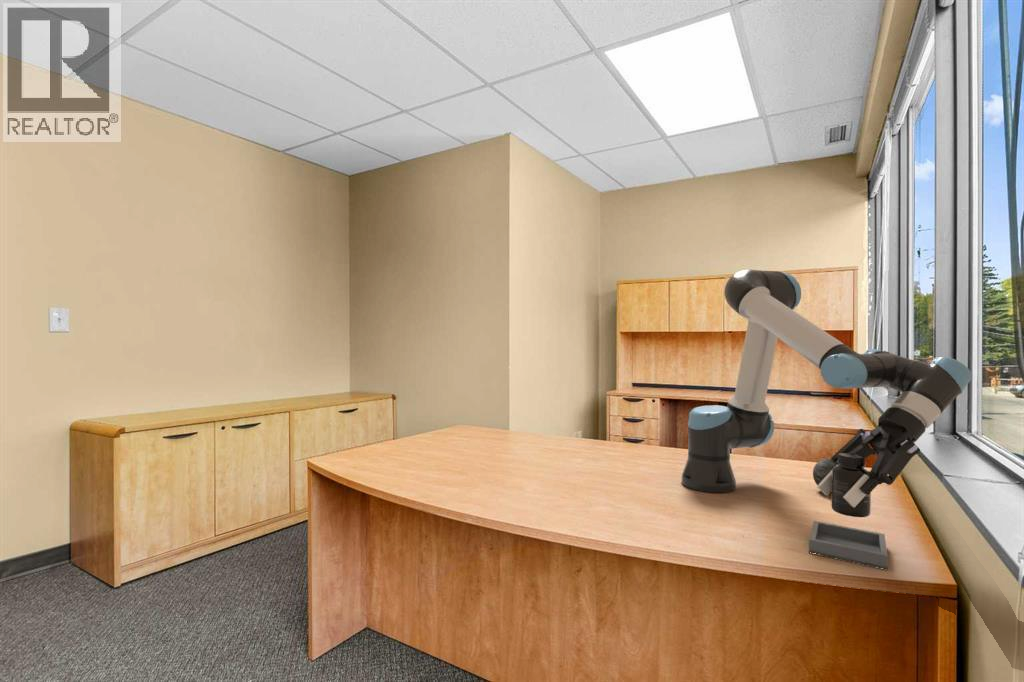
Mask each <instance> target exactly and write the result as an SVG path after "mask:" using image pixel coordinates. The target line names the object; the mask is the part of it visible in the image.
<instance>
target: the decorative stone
mask: <svg viewBox="0 0 1024 682" xmlns="http://www.w3.org/2000/svg"><path fill="white" fill-rule="evenodd" d="M834 466H835V463H834V462H833V461H832V460H831V457H827V458H823V459H820V460H819V461H817V463H815V465H814V467H813V469H812V476H813V480H814V482H815V484H816V486H817V485H818V484H819V483H820V482H821V481H822V480H823V479H824V478H825V477H826V475H827V473H828V472H829V471H830V470H831V469H832V468H833V467H834ZM830 494H832V491H831V493H830Z"/></svg>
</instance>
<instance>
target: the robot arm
mask: <svg viewBox="0 0 1024 682" xmlns="http://www.w3.org/2000/svg"><path fill="white" fill-rule="evenodd" d="M724 299H725V301H726V303H727V304H728V306H729V307H730V308H731V309H732V310H733V311H735V312H736V313H737V314H738V315H740V316H741V317H742V318H745V319H747V326H746V329H745V330H746V332H745V337H744V342H743V348H742V352H741V357H740V358H741V359H740V364H739V369H738V375H737V380H736V384H735V391H734V396H732V397H731V398H730V399H729V398H728V400H727V405H726V406H725V405H716V404H715V405H713V404H712V405H701V406H697V407H694V408H692V409H691V410H690V411H689V414H688V421H687V426H688V436H687V437H688V441H687V442H688V443H687V444H688V446H687V447H688V449H687V450H688V451H687V454H688V456H687V460H686V463H685V466H684V468H683V470H682V473H681V484H682V485H684V486H685V487H686V488H689V489H692V490H696V491H700V492H704V493H705V492H706V493H715V494H716V493H718V494H719V493H720V494H723V493H731V492H734V491H736V489H737V482H736V481H737V480H736V476H735V475H734V474H735V473H734V471H733V468H732V464H731V460H730V459H731V458H730V457H731V455H730V454H731V449H732V450H733V449H743V448H744V449H745V448H755V447H758V446H762V445H765V444H767V443H768V442H769V441H770V440H771V438H772V436H773V434H774V431H775V422H774V420H772V419H773V416H772V414H771V413H769V412H770V407H769V406H768V404H766V397H767V393H768V389H769V384H770V378H771V373H772V368H773V363H774V357H775V352H776V348H777V342H778V339H779V340H780V341H781V342H782V343H784V344H786V346H788V347H790V348H791V349H792V350H793V351H795V352H796V353H798V354H799V355H801V357H803V358H805V359H806V360H807V361H808V362H810V363H811V364H812V365H814V366H815V367H816V368H818V369H819V370H820V375H821V377H822V378H823V382H824V383H826V384H827V385H828V386H830V387H832V388H835V389H844V390H853V389H862V388H865V389H866V388H888V389H893V390H896V391H898V392H901V393H900V395H899V396H897V397H896V398H895V400H894V401H893V402H892V403H891V404H890V407H888V408H887V409H886V410H884V412H883V413H882V414H881V415H880V416H879V417H878V421H877V422H878V424H877V426H876V427H875V428H873V429H871V430H870V431H865V430H864V429H863V428H859V429H858V430H857V431H856V432H855V433H856V434H855V435H854V436H853V437H852V438H851V439H849V441H848V442H846V443H845V444H844V445H843V446H842V447H841V448H840V449H839V450H838V451H837V452H835V453H834V454H833V456H831V457H830V458H831V460H832V461H833V462H834V463H835V466H838V465H839V463H837V460H838V454H839V453H850V454H857V455H861V456H864V457H865V459H867V458H868V457H870V456H875V455H877V456H876V458H875V460H874V462H873V465H872V467H871V469H870V471H868V470H867V473H868V475H869V476H870V477H869V476H868V475H866V474H864V475H863V476H862V477H861V478H860V479H859V480H858V481H857V482H856V484H855V485H854V486H853V487H852V488H851V489H850V490H849V491H848V492H847V493H846V494H845V495H844V497H843V498H844V499H845V500H846V501H847V502H848V503H849V504H850V505H851V506H852V507H854V508H855V506H856V505H857V504H858V503H859V502H860V501H861V500H862V499H863V498H864V497H865V496H866V495H868V494H870V493H871V494H872V492H873V491H874V489H876V487H877V486H878V485H882V484H886V485H888V486H891V485H892V484H893V483H894V482H895V480H897V478H898V477H899V476H900V474H901V473H902V472H903V470H904V469H905V467H906V466H907V464H909V462H910V461H911V460H912V458H913V457H914V456H916V455H918V454H919V453H920V452H921V449H920V447H919V446H918V445H917V443H916V442H917V441H918V440H919V439H920V438H921V437H922V435H923V434H925V432H926V429H928V428H929V427H930V426H931V425H932V424H933V423H934V422H935V421H936V419H938V417H939V416H940V415H942V413H943V412H944V410H945V409H947V408H948V407H949V406H950V404H951V403H953V401H955V399H956V398H957V397H958V396H959V395H961V394H963V391H964V389H965V388H966V387H967V386H968V384H969V383H970V382H971V381H972V378H973V376H972V373H971V370H970V369H969V367H967V366H966V365H965V364H964V363H962V362H961V361H959V360H957V359H954V358H953V357H948V356H937V357H935V358H933V359H932V360H930V361H929V362H928V363H926V362H922V361H917V360H914V359H910V358H907V357H903V356H901V355H898V354H894V353H891V352H889V351H886V350H879V349H876V348H870V349H867V350H866V351H865V352H864V351H863V352H862V353H858V352H857V351H855V350H853V348H851V347H849V346H847V345H845V344H844V343H843V342H841V341H840V339H839V340H838V338H835V337H834V336H832V335H831V334H829V333H828V332H826V331H825V330H823V329H822V328H820V327H819V326H817V325H816V324H814V323H813V322H811V321H810V320H808V319H807V318H805V317H804V316H803V315H801V314H799V313H798V312H796V311H795V310H794V309H795V308H796V307H798V306H799V304H800V302H801V299H802V287H801V285H800V283H799V282H798V281H797V279H796V277H794V275H792V274H790V273H787V272H782V271H778V270H762V269H761V270H759V269H758V270H757V269H743V270H740V271H737V272H735V273H734V274H732V275H731V276H730V277H729V278H728V280H727V281H726V284H725V285H724ZM835 466H834V467H835ZM834 467H833V468H834ZM833 468H832V469H833ZM832 469H831V470H830V471H829V472H828V473H827V475H826V477H825V478H824V479H823V480H822V481H821V482H820V483H819V484H818V485H817V484H816V486H817V488H818V489H819V490H820V491H821V492H822V493H823V494H824V495H825V496H829V495H830V494H832V493H831V491H832Z"/></svg>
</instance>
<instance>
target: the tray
mask: <svg viewBox="0 0 1024 682" xmlns="http://www.w3.org/2000/svg"><path fill="white" fill-rule="evenodd" d="M808 541H809V543H808V544H809V545H808V546H809V547H808V553H809V552H811V553H816V554H820V555H823V556H822V557H825V556H827V557H826V558H829V557H832V558H831V559H834V558H837V559H836V560H838V559H841V560H840V561H843V560H845V561H844V562H847V561H850V562H849V563H852V562H855V563H854V564H856V563H860V564H859V565H861V564H864V565H863V566H865V565H869V566H868V567H870V566H873V567H872V568H874V567H878V568H877V569H879V568H883V569H887V570H888V557H889V556H888V548H887V542H886V535H885V534H884V533H880V532H875V531H869V530H864V529H859V528H854V527H848V526H843V525H838V524H833V523H827V522H823V521H817V520H813V523H812V527H811V532H810V535H809V539H808ZM811 553H810V554H811ZM816 554H815V555H816ZM820 555H819V556H820ZM883 569H882V570H883Z"/></svg>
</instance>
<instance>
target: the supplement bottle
mask: <svg viewBox="0 0 1024 682" xmlns="http://www.w3.org/2000/svg"><path fill="white" fill-rule="evenodd" d="M837 463H839V465H838V466H835V467H834V468H833V469H832V493H831V499H830V501H831V503H830V504H831V509H832V510H833V511H834V512H835V513H837V514H840V515H843V516H848V517H852V518H853V517H854V518H867V517H869V516H870V515H871V508H872V507H871V505H872V504H871V501H872V500H871V499H872V498H871V497H872V492H871V493H870V494H868V495H866V496H865V497H864V498H863V499H862V500H861V501H860V502H859V503H858V504H857V505H856V506H855V508H854V507H852V506H851V505H850V504H849V503H848V502H847V501H846V500H845V499H844V498H843V497H844V495H845V494H846V493H847V492H848V491H849V490H850V489H851V488H852V487H853V486H854V485H855V484H856V482H857V481H858V480H859V479H860V478H861V477H862V476H863V475H864V474H866V475H868V473H867V471H868V470H867V468H865V467H866V466H867V465H866V458H865V457H864V456H861V455H857V454H850V453H839V454H838V460H837ZM868 476H869V475H868ZM869 477H870V476H869Z"/></svg>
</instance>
